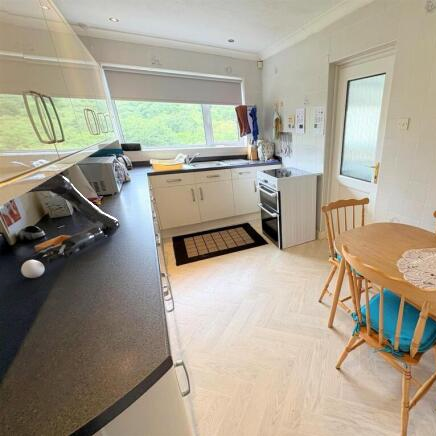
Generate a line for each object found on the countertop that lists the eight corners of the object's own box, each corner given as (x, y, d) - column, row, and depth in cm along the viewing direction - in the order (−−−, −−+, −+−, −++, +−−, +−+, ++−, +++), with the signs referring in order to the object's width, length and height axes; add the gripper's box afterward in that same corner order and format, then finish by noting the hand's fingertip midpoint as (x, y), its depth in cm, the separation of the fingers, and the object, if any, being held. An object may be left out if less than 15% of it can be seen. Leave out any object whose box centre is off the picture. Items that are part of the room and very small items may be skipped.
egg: (38, 280, 90) (30, 264, 87) (21, 282, 89) (12, 265, 87) (51, 271, 96) (44, 256, 93) (35, 273, 95) (27, 257, 92)
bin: (37, 252, 110) (34, 246, 109) (64, 241, 121) (61, 235, 120) (58, 254, 109) (55, 248, 107) (84, 242, 120) (81, 236, 118)
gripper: (63, 233, 108) (21, 250, 93) (90, 235, 106) (50, 253, 91) (69, 247, 110) (28, 266, 96) (95, 249, 108) (57, 269, 94)
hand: (39, 260), depth 93 cm, fingers open, 8 cm apart
